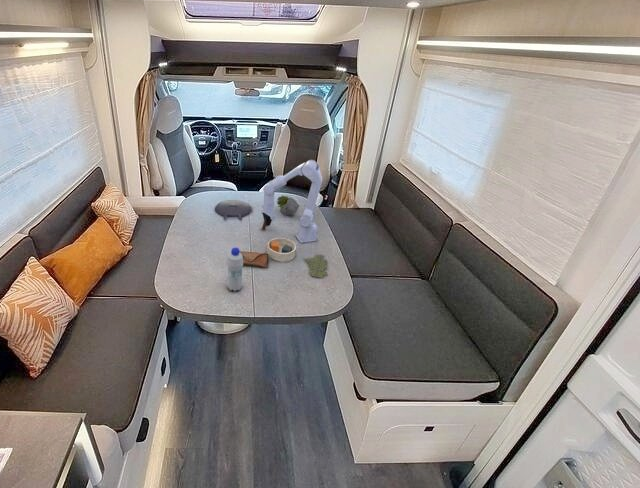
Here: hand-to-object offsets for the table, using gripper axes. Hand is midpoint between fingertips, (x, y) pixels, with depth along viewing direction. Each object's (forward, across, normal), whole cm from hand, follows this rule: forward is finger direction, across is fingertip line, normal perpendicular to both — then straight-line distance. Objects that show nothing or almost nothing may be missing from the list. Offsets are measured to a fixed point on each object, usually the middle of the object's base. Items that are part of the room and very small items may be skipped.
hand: (267, 224), depth 179 cm
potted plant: (+3, -16, +19) cm, 25 cm away
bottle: (+3, +43, -31) cm, 53 cm away
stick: (+3, 0, -2) cm, 4 cm away
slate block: (+3, +26, +1) cm, 27 cm away
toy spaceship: (+3, -27, -13) cm, 30 cm away
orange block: (+3, +22, -4) cm, 22 cm away
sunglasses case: (+3, +27, -19) cm, 33 cm away
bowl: (+3, +24, -2) cm, 25 cm away
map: (+3, +37, +11) cm, 39 cm away
